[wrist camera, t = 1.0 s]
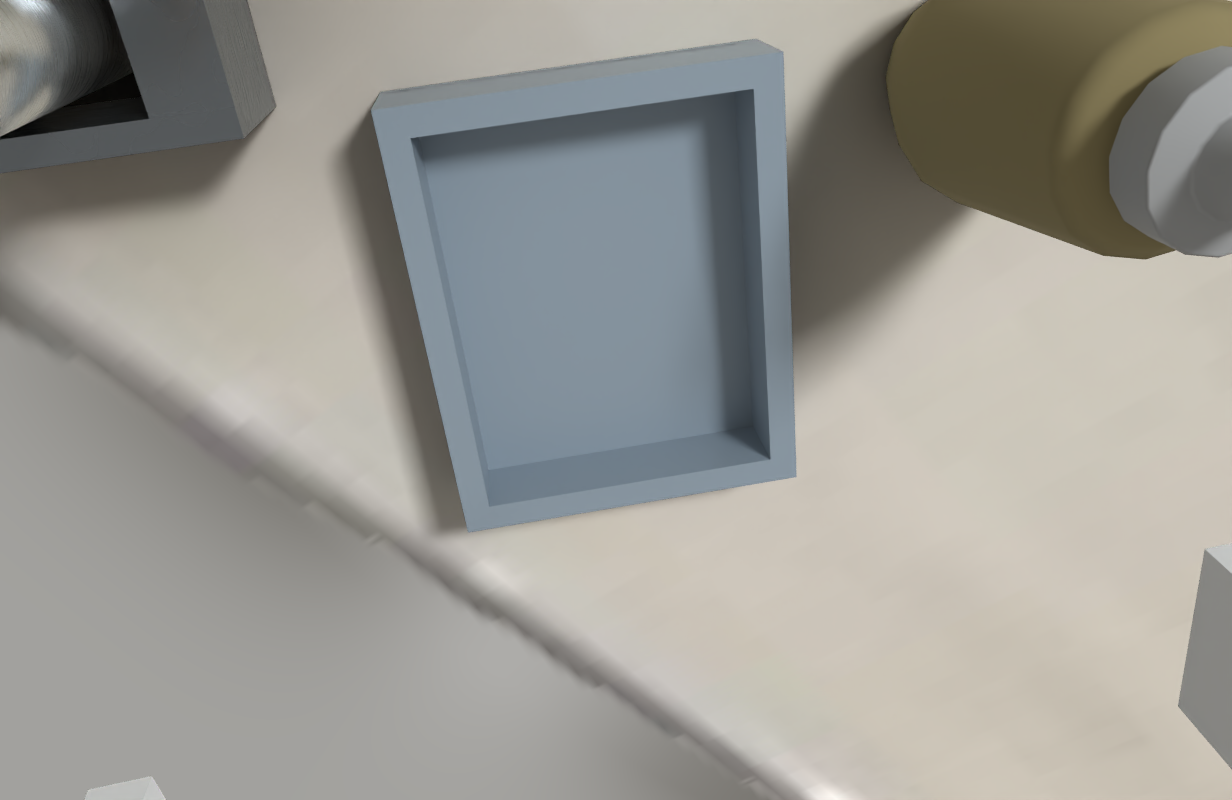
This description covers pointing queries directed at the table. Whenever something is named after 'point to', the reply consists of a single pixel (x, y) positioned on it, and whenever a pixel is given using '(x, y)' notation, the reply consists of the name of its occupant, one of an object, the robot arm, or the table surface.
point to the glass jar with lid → (55, 55)
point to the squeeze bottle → (1075, 117)
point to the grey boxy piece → (160, 88)
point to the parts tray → (601, 276)
